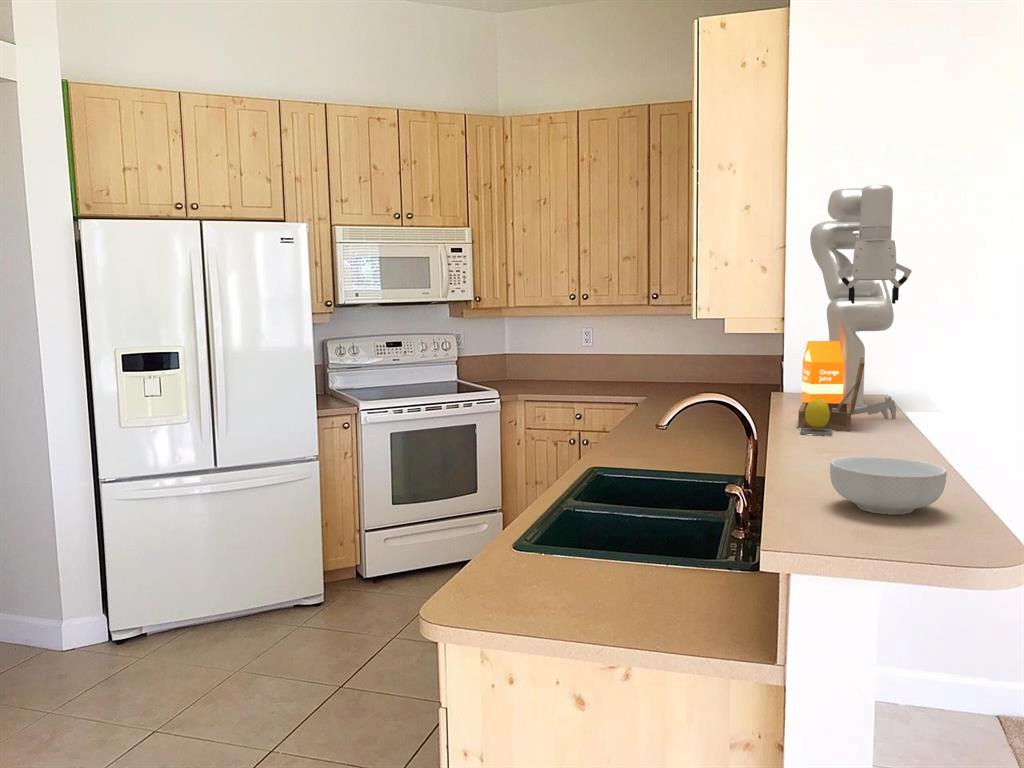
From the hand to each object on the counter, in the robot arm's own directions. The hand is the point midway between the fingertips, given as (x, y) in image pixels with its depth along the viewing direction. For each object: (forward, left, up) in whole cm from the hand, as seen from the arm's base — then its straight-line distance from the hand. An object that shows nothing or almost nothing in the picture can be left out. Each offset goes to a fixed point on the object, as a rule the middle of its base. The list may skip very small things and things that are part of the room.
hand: (873, 303), depth 224 cm
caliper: (-4, -3, -31) cm, 31 cm away
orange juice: (-12, -12, -31) cm, 35 cm away
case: (+9, -9, -30) cm, 33 cm away
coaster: (+23, -12, -30) cm, 40 cm away
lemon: (+23, -12, -30) cm, 39 cm away
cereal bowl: (+96, +1, -31) cm, 101 cm away
